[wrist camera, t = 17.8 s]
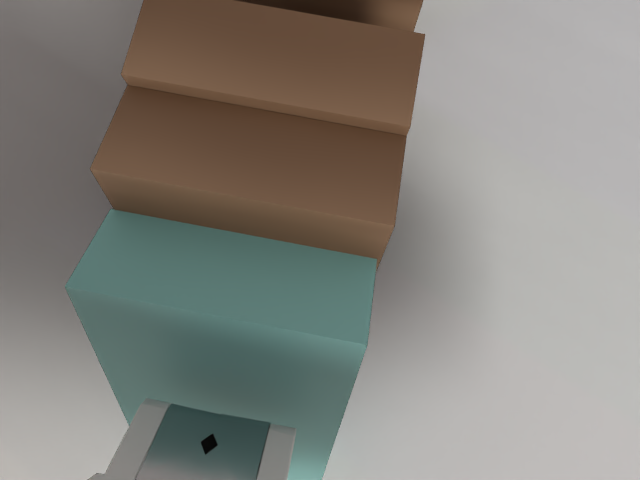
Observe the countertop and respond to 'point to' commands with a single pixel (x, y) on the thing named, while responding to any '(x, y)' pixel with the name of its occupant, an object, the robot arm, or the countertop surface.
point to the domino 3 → (356, 10)
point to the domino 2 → (252, 171)
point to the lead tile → (227, 325)
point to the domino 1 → (277, 61)
